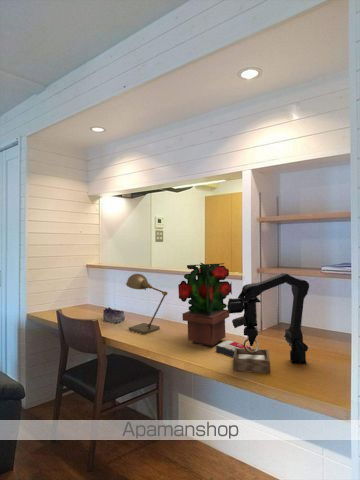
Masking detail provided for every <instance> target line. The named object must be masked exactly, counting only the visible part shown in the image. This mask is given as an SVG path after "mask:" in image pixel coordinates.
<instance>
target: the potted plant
mask: <svg viewBox="0 0 360 480" xmlns="http://www.w3.org/2000/svg"><path fill="white" fill-rule="evenodd" d="M224 264H225V263H224V262H223V263H203V262H199V264H187V265H186V268H187V270H191V271H190V273H185V274H184V275H183V278H184V279H185V280H182V281H180V283H179V284H178V299H179V300H181V301H182V302H183V303H184V302H186V301H187V299H189V300H188V301H187V304H188V305H189V306H188V308H187V309H188V311H185V312H183V313H182V321H184V322H185V321H186V322H187V340H188V341H190V342H192V344H195V345H199V346H202V347H204V346H205V347H208V348H212V347H213V346H216V345H218V344H219V343H220V342H222V340H223V339H225V338H226V319H227V318H230V314H229V312H228V309H226V308H227V305H228V304H226V303H224V300H225V299H226V298H227V296H229V295H230V294H231V295H233V292H232V291H233V288H232V287H233V286H232V282H230V281H227V280H226V279H227V277H229V275H230V270H229V268H226V266H225V265H224ZM197 266H199V267H197ZM225 280H226V281H225Z"/></svg>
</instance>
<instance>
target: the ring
mask: <svg viewBox="0 0 360 480" xmlns="http://www.w3.org/2000/svg"><path fill="white" fill-rule="evenodd" d="M246 337H247V338H245V339H244V342H243V345H244V348H245V349H246V351H248V352H249V353H251V354H252V353H255V352H256V351H257V350H258V349H260V344H259V342H258V340H257V338H256V339H255V341H254V343H256V348H255V349H256V350H255V351H249V350H248V349H247V348H246V346H247V345H246V343H247V342H249V339H248V336H246Z"/></svg>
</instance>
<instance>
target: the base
mask: <svg viewBox="0 0 360 480" xmlns="http://www.w3.org/2000/svg"><path fill="white" fill-rule="evenodd" d="M256 349H257V348H251V349H248V350H249V351H255V350H256ZM232 358H233V360H232V361H233V371H234V370H236V371H235V372H243V371H251V372H250V373H260V372H261V373H262V374H263V373H265V374H271V360H270V359H271V358H270V351H269V349H263V348H262V349H261V348H259V349H258V350H257V351H256V352H255V353H252V354H251V353H249V352H248V351H246V349H244V348H235V351H234V357H232Z"/></svg>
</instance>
